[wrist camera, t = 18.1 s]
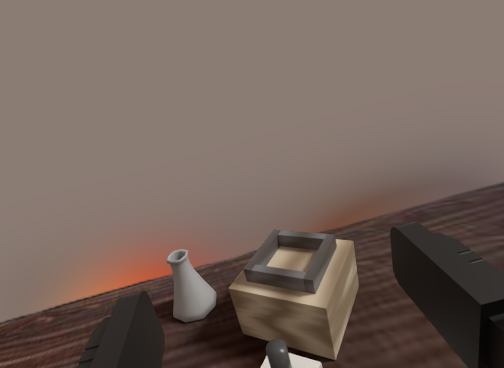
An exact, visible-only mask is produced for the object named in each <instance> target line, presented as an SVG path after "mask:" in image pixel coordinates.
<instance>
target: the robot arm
mask: <svg viewBox="0 0 504 368" xmlns="http://www.w3.org/2000/svg"><path fill="white" fill-rule="evenodd" d="M390 237H391V250H392V263H393V271H394V274H395V277H396V279H397V281H398V283H399V284H400V286H401V287H402V288H403V290H404V291H405V292H406V293H407V295H408V296H409V297H410V298H411V299H412V301H413V302H414V303H415V304H416V305H417V307H418V308H419V309H420V310H421V311H422V313H423V314H424V315H425V316H426V317H427V319H428V320H429V321H430V322H431V323H432V325H433V326H434V327H435V328H436V329H437V331H438V332H439V333H440V334H441V335H442V337H443V338H444V339H445V340H446V341H447V343H448V344H449V345H450V346H451V347H452V349H453V350H454V351H455V352H456V353H457V355H458V356H459V357H460V358H461V359H462V361H463V362H464V363H465V364H466V365H467V367H468V368H504V274H503V273H502V272H501V271H499V270H498V269H496V268H495V267H494V266H492V265H491V264H490V263H488V262H487V261H485V260H484V261H483V260H482V258H481V257H480V256H479V255H477V254H476V253H475V252H471V251H470V249H469V248H468V247H466V246H465V245H464V244H462V243H461V242H459V241H458V240H457V239H454V238H452V237H449V236H446V235H444V234H441V233H439V232H438V233H434V234H433V233H431V232H430V231H429V230H427V229H426V228H425V227H424V226H422V225H421V224H420V223H418V222H411V223H408V224H404V225H400V226H396V227H392V228H391V231H390ZM164 346H165V339H164V332H163V328H162V325H161V323H160V321H159V318H158V316H157V314H156V312H155V309H154V307H153V305H152V302H151V300H150V298H149V296H148V294H147V293H146V292H145V291H141V292H138V293H134V294H130V295H126V296H122V297H120V298H119V299H118V301H117V303H116V305H115V308H114V310H113V313H112V315H111V317H107V318H104V320H103V321H102V322H101V323H100V324H99V326H98V327H97V328H96V329H95V330H94V331H93V333H92V334H91V337H90V339H89V341H88V343H87V345H86V348H85V352H83V354H82V356H81V358H80V361H79V365H78V366H77V367H76V368H161V364H162V358H163V352H164Z"/></svg>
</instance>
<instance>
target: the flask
mask: <svg viewBox="0 0 504 368" xmlns="http://www.w3.org/2000/svg"><path fill="white" fill-rule="evenodd" d="M166 261H167V263H169V264H170V265H171V268H172V271H173V277H174V304H173V317H174V318H176V319H179V320H181V321H183V322H185V323H186V322H190V321H195V320H200V319H204V318H205V317H206V316H207V314H208V313H209V312H210V311H211V310H212V309H213V308H214V307H215V306H216V296H217V293H216V292H215V291H214V290H213V289H212V288H211V287H210V286H209V285H208V284H207V283H206V282H205V281H204V280H203V279H202V278H201V277H200V276H199V274H198V273H197V272H196V271H195V270H194V268H193V267H192V265H191V264H190V262H189V259H188V251H187V250H183V249H181V250H176V251H174V252H172V253H171V254H170V255H168V258H167V260H166Z"/></svg>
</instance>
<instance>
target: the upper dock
mask: <svg viewBox="0 0 504 368" xmlns="http://www.w3.org/2000/svg"><path fill="white" fill-rule="evenodd" d="M358 287H359V283H358V275H357V267H356V260H355V252H354V244H353V241H349V240H338V239H336V237H335V235H331V234H319V233H307V232H294V231H283V230H273V231H272V233H271V234H270V235H269V237H268V238H267V239H266V240H265V242H264V243H263V244H262V246H261V247H260V248H259V249H258V251H257V252H256V253H255V255H254V256H253V257H252V258H251V260H250V261H249V262H248V264H247V265H246V266H245V268H244V269H243V270H242V271H241V273H240V274H239V275H238V277H237V278H236V279H235V281H234V282H233V283H232V284H231V286H230V287H229V288H228V289H229V292H230V295H231V298H232V301H233V304H234V307H235V311H236V314H237V317H238V320H239V323H240V326H241V329H242V333H243V334H246V335H249V336H253V337H256V338H260V339H263V340H267V341H271V340H273V339H281V340H283V341H284V342H285V343H286V346H288V347H291V348H295V349H298V350H302V351H305V352H309V353H312V354H315V355H319V356H322V357H326V358H329V359H333V360H336V357H337V354H338V351H339V348H340V345H341V341H342V338H343V335H344V332H345V329H346V325H347V322H348V319H349V316H350V313H351V309H352V306H353V303H354V300H355V297H356V293H357V290H358Z"/></svg>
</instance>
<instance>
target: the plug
mask: <svg viewBox="0 0 504 368" xmlns="http://www.w3.org/2000/svg"><path fill="white" fill-rule="evenodd" d="M266 354H267V356H266V358H265V360H264V362H263V364H262V366H261V368H322V364H321V362H319V361H315V360H312V359H308V358H305V357H301V356H298V355H294V354H291V353H288V350H287V346H286V343H285V342H284V341H283V340H281V339H273V340H271V341H270V342H269V343H268V344H267V345H266Z"/></svg>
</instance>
